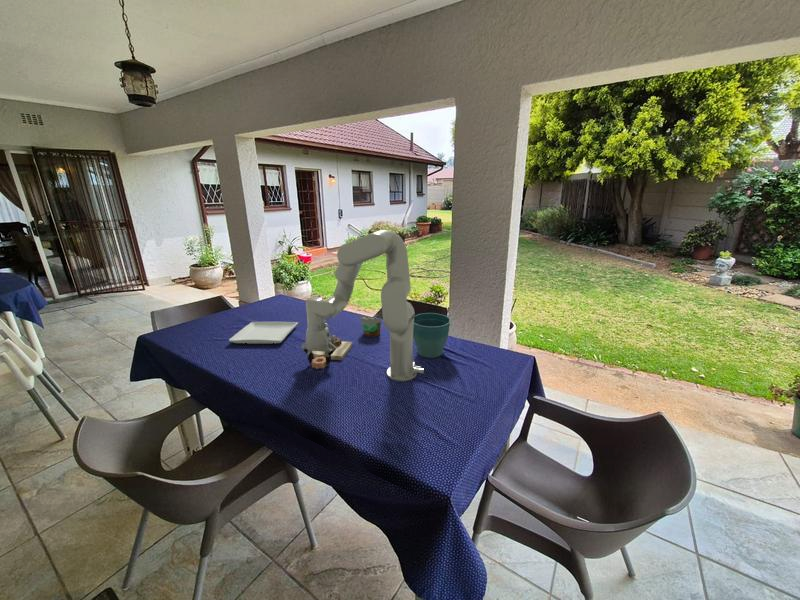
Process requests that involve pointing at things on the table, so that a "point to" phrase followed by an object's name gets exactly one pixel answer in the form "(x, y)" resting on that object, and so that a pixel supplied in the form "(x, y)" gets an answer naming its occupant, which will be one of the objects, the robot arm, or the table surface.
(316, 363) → the terracotta gear
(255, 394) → the table surface
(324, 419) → the table surface
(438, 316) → the flower pot
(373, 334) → the food container
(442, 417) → the table surface
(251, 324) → the square plate
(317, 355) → the gear board
